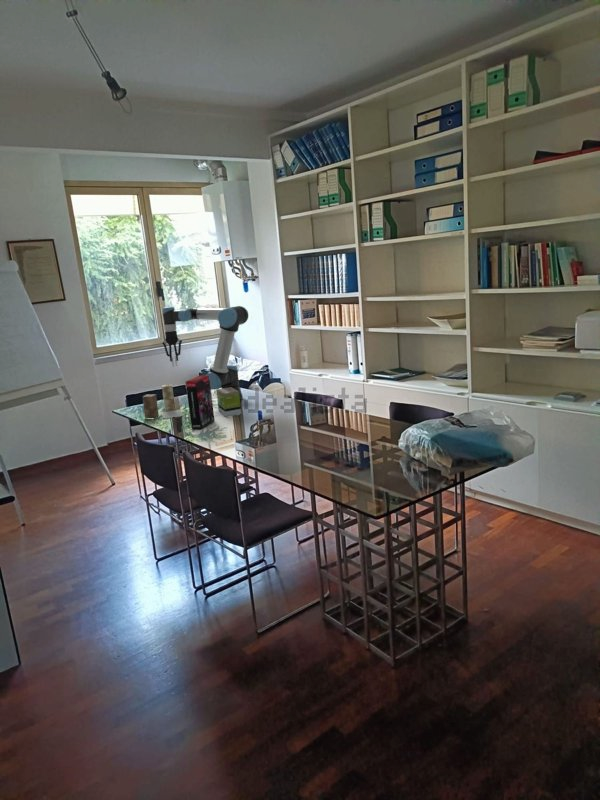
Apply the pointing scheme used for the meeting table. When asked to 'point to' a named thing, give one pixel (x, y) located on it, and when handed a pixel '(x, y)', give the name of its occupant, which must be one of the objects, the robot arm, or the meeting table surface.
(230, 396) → the tea box
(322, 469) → the meeting table surface
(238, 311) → the robot arm
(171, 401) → the beech block
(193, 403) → the graphics card box
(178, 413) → the grey felt mat
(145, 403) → the walnut block
